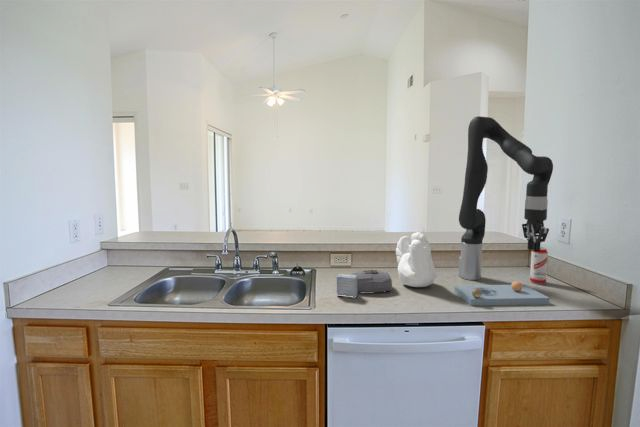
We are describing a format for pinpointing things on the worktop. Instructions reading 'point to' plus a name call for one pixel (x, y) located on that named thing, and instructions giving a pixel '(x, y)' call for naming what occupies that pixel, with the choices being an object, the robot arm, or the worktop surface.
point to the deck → (501, 295)
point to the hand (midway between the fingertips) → (533, 250)
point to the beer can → (539, 266)
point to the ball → (516, 286)
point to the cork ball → (476, 293)
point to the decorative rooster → (415, 261)
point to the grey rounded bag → (373, 281)
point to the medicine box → (347, 285)
